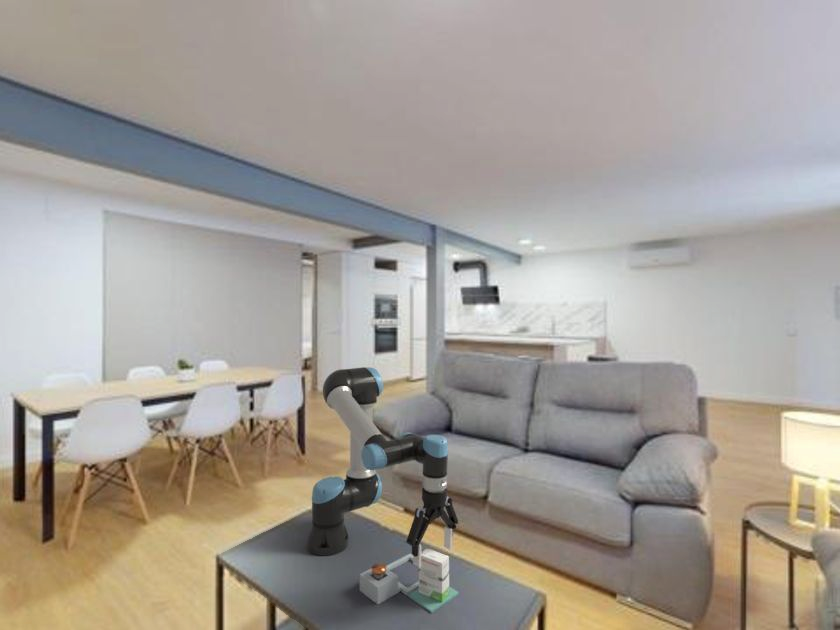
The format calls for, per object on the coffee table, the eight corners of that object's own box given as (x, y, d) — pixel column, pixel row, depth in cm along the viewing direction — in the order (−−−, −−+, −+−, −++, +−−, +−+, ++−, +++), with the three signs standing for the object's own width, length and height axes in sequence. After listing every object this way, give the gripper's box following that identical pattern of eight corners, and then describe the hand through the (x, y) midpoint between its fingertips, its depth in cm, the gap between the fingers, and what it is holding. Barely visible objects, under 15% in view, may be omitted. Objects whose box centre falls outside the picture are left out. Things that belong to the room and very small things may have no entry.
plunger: (368, 586, 133) (368, 567, 133) (380, 580, 136) (380, 561, 136) (377, 593, 130) (377, 573, 130) (388, 586, 133) (389, 567, 133)
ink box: (449, 594, 131) (450, 555, 131) (441, 603, 127) (441, 563, 127) (426, 584, 136) (426, 546, 135) (417, 592, 131) (417, 554, 131)
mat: (408, 596, 130) (408, 594, 130) (435, 579, 139) (435, 577, 139) (431, 613, 123) (431, 611, 123) (459, 594, 132) (459, 592, 132)
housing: (354, 585, 135) (354, 570, 135) (410, 556, 152) (410, 542, 152) (384, 609, 125) (384, 592, 125) (440, 575, 141) (440, 560, 141)
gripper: (412, 504, 119) (411, 579, 120) (470, 480, 137) (468, 546, 137) (395, 495, 125) (393, 567, 125) (452, 473, 142) (451, 536, 143)
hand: (432, 556), depth 131 cm, fingers open, 13 cm apart
